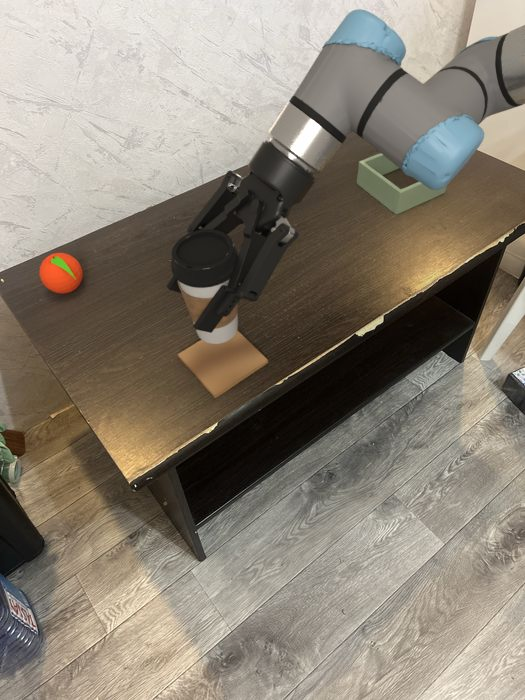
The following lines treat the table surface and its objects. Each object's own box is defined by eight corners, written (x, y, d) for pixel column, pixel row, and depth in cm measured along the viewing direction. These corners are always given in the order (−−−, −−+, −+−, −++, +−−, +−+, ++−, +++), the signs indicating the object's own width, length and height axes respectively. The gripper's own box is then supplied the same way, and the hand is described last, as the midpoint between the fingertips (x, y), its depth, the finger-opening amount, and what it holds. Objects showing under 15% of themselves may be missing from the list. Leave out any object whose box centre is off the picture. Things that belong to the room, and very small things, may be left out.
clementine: (100, 286, 89) (87, 256, 83) (69, 310, 86) (53, 280, 80) (71, 268, 92) (57, 238, 86) (40, 291, 89) (23, 260, 83)
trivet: (268, 362, 77) (268, 359, 76) (215, 398, 73) (214, 395, 73) (229, 325, 82) (229, 322, 81) (178, 357, 78) (177, 354, 78)
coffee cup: (177, 342, 70) (154, 263, 58) (202, 300, 75) (185, 218, 63) (233, 358, 68) (220, 278, 56) (255, 313, 73) (248, 231, 61)
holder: (445, 192, 101) (451, 170, 97) (396, 214, 97) (400, 192, 93) (403, 163, 107) (407, 142, 104) (356, 183, 104) (358, 161, 100)
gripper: (363, 214, 55) (245, 365, 63) (267, 133, 66) (178, 270, 74) (326, 188, 49) (202, 358, 57) (227, 105, 60) (135, 257, 68)
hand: (188, 308), depth 66 cm, fingers closed on coffee cup, 8 cm apart
